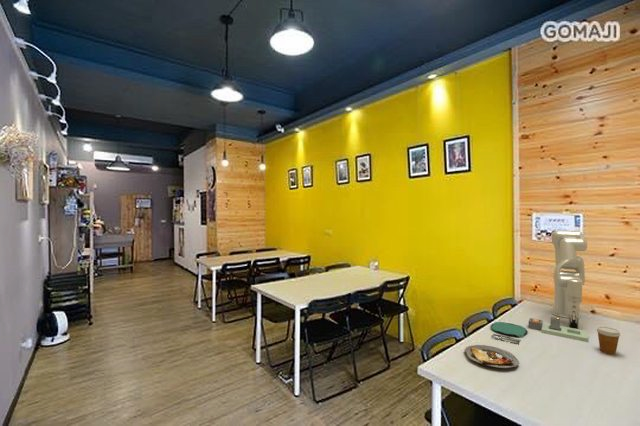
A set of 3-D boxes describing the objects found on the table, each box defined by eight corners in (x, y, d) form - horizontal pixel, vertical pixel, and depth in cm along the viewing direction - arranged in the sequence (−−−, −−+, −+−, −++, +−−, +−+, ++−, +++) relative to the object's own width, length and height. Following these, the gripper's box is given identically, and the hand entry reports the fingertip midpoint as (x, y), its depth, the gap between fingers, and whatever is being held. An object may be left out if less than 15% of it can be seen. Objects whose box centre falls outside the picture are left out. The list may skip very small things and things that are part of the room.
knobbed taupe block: (568, 329, 202) (569, 316, 202) (568, 327, 206) (569, 314, 205) (578, 331, 199) (578, 318, 199) (578, 329, 203) (578, 316, 203)
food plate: (526, 374, 150) (526, 366, 150) (472, 369, 154) (472, 362, 154) (506, 351, 174) (506, 344, 174) (461, 347, 179) (460, 341, 179)
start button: (531, 324, 204) (532, 320, 203) (532, 323, 206) (532, 318, 206) (538, 326, 201) (538, 321, 201) (539, 324, 204) (539, 319, 204)
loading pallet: (527, 330, 201) (527, 322, 200) (530, 323, 212) (530, 316, 211) (588, 342, 183) (588, 334, 182) (587, 334, 194) (587, 326, 194)
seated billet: (550, 331, 197) (550, 318, 197) (550, 329, 201) (550, 316, 201) (559, 333, 194) (559, 320, 194) (559, 331, 198) (560, 318, 198)
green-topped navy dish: (529, 330, 202) (529, 326, 202) (522, 347, 179) (522, 343, 179) (494, 323, 214) (494, 319, 214) (483, 338, 191) (483, 334, 191)
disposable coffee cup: (610, 348, 176) (610, 326, 176) (624, 356, 167) (625, 333, 166) (591, 347, 177) (592, 325, 177) (605, 355, 168) (605, 332, 167)
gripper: (582, 303, 193) (581, 333, 193) (581, 296, 206) (580, 324, 207) (566, 300, 197) (565, 330, 198) (566, 294, 211) (566, 322, 211)
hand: (573, 327), depth 202 cm, fingers closed on knobbed taupe block, 4 cm apart
